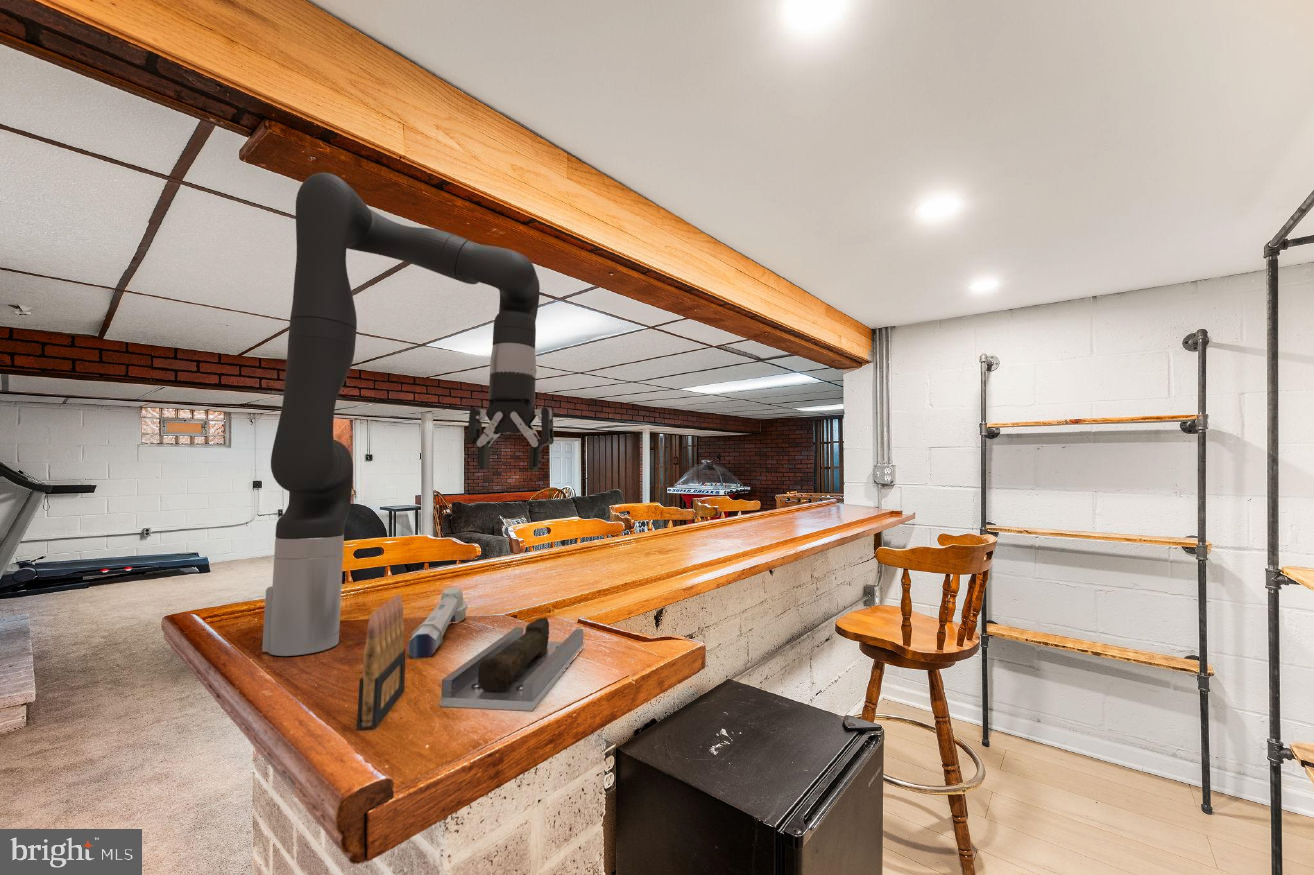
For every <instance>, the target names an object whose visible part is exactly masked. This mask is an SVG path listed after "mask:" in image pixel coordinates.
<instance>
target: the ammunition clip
mask: <svg viewBox="0 0 1314 875" xmlns="http://www.w3.org/2000/svg"><path fill="white" fill-rule="evenodd" d="M403 607H404V606H403V600H402V597H401V594H400V593H397V595H396V596H393V597H392V599H388V601H387V603H386V602H384V603H383V604H382V606H378V608H377V609H376V610H374V609H373V610H372V612H371V614H370V617H369V619H368V623H367V631H366V638H365V647H364V651H363V662H362V664H363V665H362V676H361V677H360V679H359V684H358V685H359V686H358V702H357V703H358V704H357V714H356V715H357V719H356V731H363V730H364V731H365V730H375V729H377V728H378V727H379V726H380V723H381V722H382V721H383V720H384V719H385V717H386V716H387V715H388V713H389V712H390V710H392V708H393V707H394V705H395V704H396V703H397V702H398V700H399V699H400V698H401V696H402V695H403V694H404V692H405V683H406V682H405V679H406V678H405V677H406V675H405V674H406V654H407V653H406V649H405V647H404V645H405V643H404V641H405V627H404V608H403Z"/></svg>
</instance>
